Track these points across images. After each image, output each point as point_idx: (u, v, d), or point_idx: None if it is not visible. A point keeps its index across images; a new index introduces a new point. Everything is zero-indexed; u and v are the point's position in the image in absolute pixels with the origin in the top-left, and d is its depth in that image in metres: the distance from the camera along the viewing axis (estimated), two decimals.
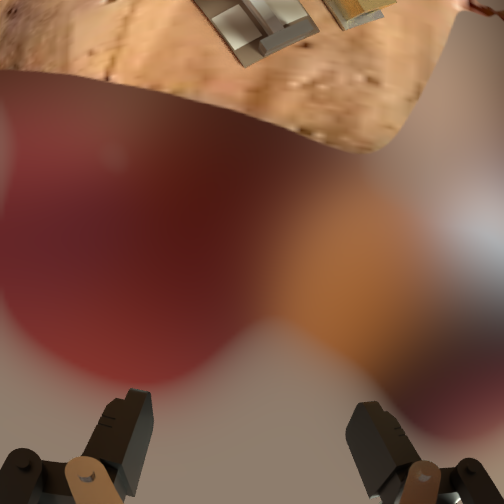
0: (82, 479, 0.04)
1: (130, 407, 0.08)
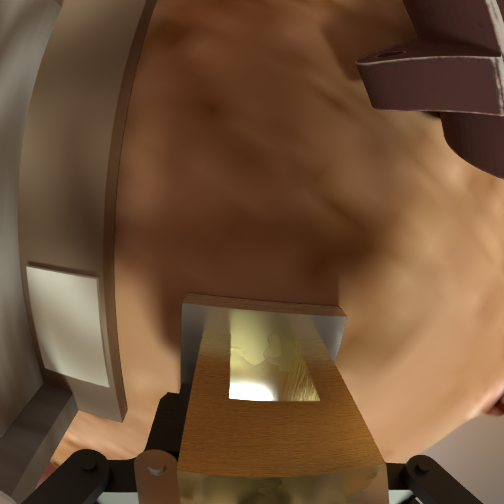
0: (155, 472, 0.05)
1: (187, 399, 0.09)
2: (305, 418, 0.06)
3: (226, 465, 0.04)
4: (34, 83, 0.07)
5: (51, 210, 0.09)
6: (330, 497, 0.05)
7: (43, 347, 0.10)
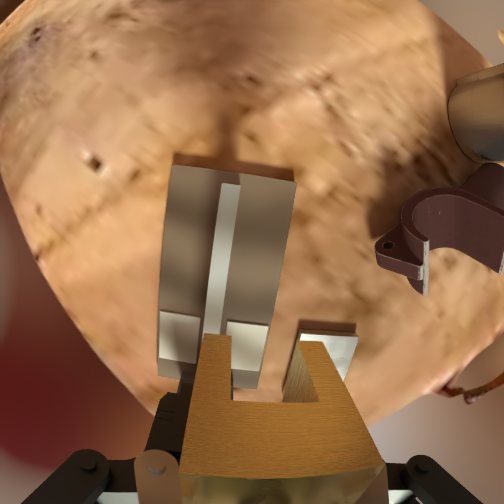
0: (155, 472, 0.05)
1: (187, 399, 0.09)
2: (305, 420, 0.06)
3: (227, 467, 0.05)
4: None
5: (247, 298, 0.24)
6: (330, 498, 0.05)
7: None
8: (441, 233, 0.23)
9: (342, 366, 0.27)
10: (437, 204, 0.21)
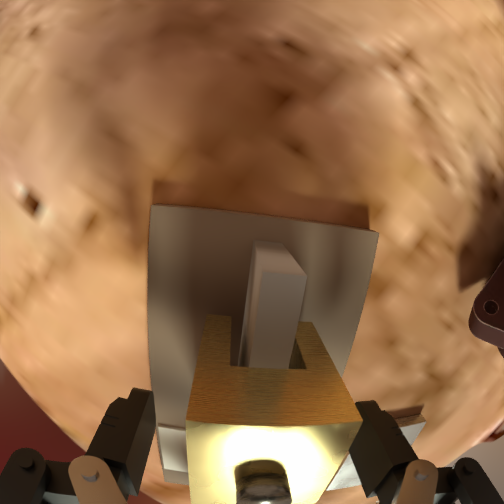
0: (86, 478, 0.04)
1: (133, 406, 0.08)
2: (294, 382, 0.08)
3: (227, 416, 0.06)
4: None
5: None
6: (317, 454, 0.06)
7: None
8: None
9: None
10: None
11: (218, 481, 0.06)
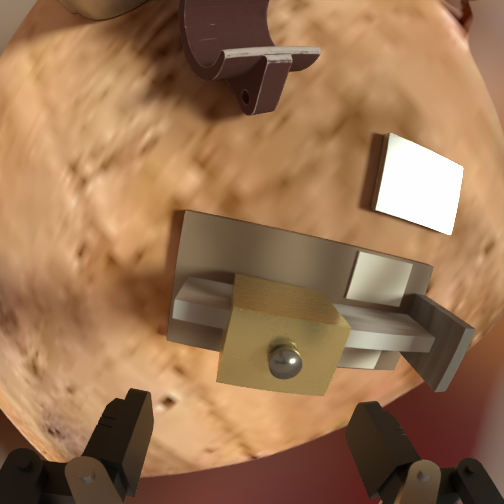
0: (82, 479, 0.04)
1: (130, 407, 0.08)
2: (227, 320, 0.15)
3: (219, 364, 0.14)
4: None
5: (322, 274, 0.20)
6: (256, 330, 0.13)
7: (388, 302, 0.21)
8: (244, 20, 0.15)
9: (425, 156, 0.19)
10: (199, 28, 0.14)
11: (274, 378, 0.14)
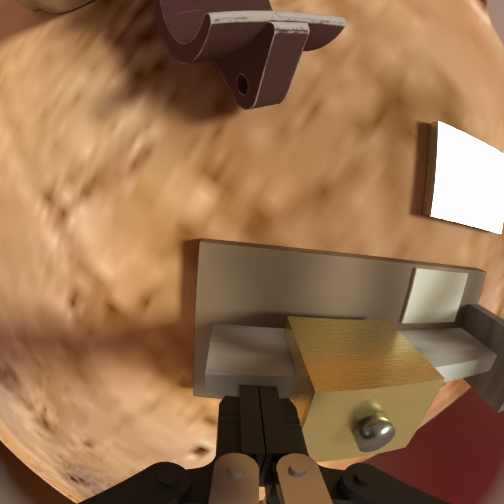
0: (238, 476, 0.06)
1: (248, 401, 0.09)
2: (296, 392, 0.11)
3: None
4: None
5: (376, 300, 0.16)
6: (343, 408, 0.09)
7: (443, 318, 0.16)
8: None
9: (474, 147, 0.14)
10: None
11: (357, 446, 0.10)
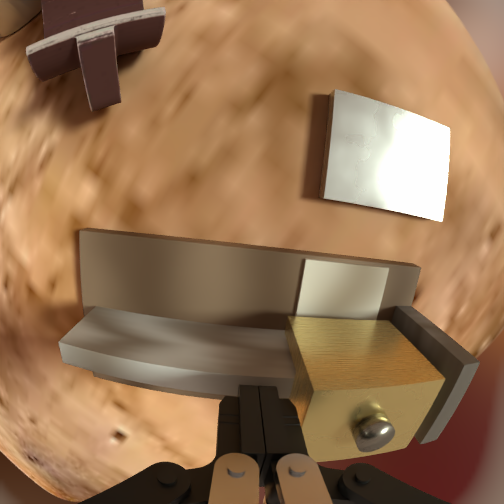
0: (238, 476, 0.06)
1: (248, 401, 0.09)
2: (295, 391, 0.11)
3: None
4: (158, 317, 0.15)
5: (256, 294, 0.15)
6: (342, 408, 0.09)
7: None
8: None
9: (392, 116, 0.13)
10: (57, 21, 0.09)
11: (357, 446, 0.10)
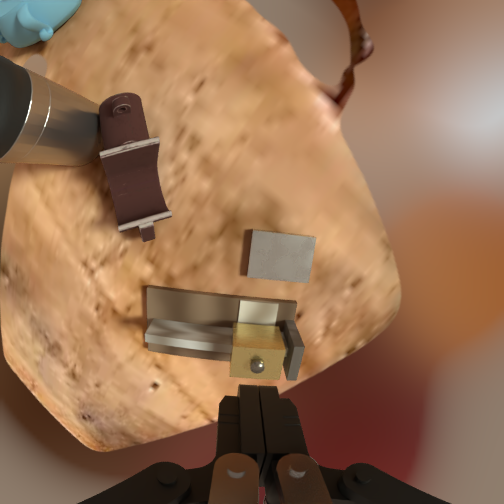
0: (238, 476, 0.06)
1: (248, 401, 0.09)
2: None
3: (230, 369, 0.32)
4: (182, 322, 0.38)
5: (221, 313, 0.38)
6: (243, 354, 0.31)
7: None
8: (143, 177, 0.32)
9: (280, 238, 0.36)
10: (117, 188, 0.31)
11: (254, 372, 0.32)
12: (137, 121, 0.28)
